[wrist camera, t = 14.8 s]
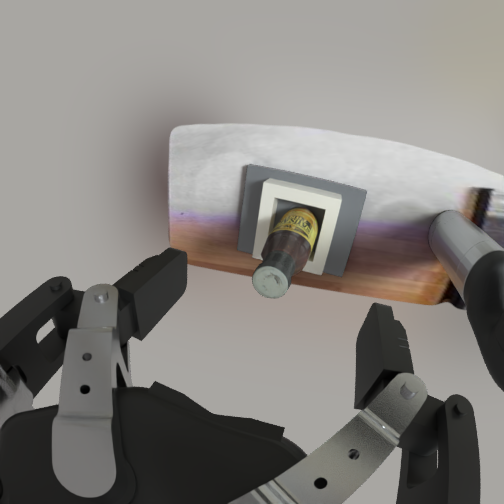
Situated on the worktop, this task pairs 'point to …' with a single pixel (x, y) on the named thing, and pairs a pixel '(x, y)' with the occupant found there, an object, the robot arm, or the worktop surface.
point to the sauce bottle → (285, 252)
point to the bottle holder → (306, 196)
